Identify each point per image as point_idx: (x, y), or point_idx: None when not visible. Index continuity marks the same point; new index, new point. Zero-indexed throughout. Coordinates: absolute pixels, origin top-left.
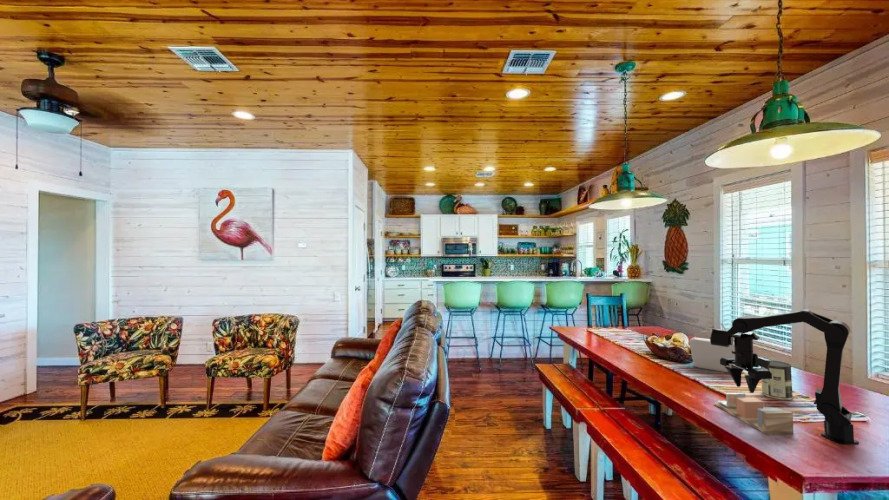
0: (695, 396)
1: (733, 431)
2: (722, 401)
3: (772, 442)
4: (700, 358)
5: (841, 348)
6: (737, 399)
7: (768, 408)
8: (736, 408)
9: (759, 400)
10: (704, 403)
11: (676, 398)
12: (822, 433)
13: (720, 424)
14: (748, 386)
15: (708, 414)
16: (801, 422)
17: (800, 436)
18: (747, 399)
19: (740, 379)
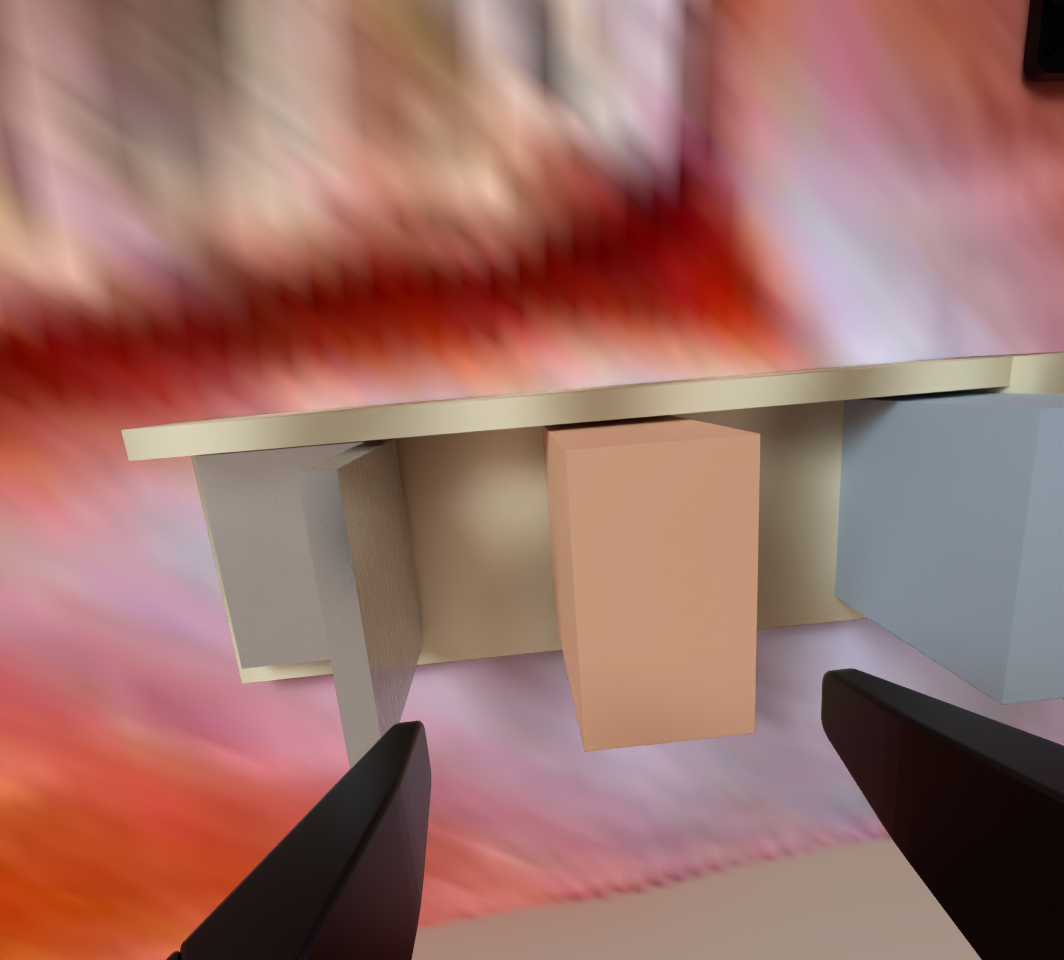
0: (10, 739)
1: (851, 806)
2: (257, 627)
3: None
4: None
5: None
6: (606, 738)
7: (1026, 551)
8: (416, 550)
9: (708, 463)
10: (231, 744)
11: (121, 934)
12: (1042, 50)
13: (724, 835)
14: (1008, 953)
15: (519, 831)
16: (723, 13)
17: (1007, 325)
18: (655, 627)
19: (354, 910)
